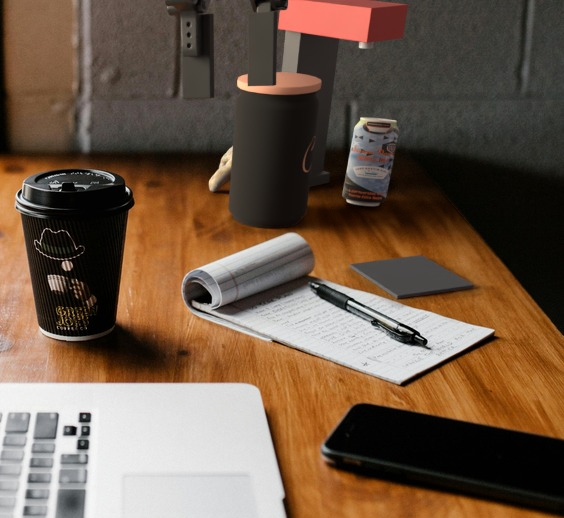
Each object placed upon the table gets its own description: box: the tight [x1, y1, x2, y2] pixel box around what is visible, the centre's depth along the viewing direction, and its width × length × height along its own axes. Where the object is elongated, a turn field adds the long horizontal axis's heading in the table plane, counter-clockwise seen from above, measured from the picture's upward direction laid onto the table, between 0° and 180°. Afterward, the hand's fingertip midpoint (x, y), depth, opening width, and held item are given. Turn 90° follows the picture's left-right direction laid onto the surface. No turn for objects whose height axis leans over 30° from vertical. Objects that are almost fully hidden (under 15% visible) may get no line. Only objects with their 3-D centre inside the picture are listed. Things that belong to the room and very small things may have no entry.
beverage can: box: [341, 116, 400, 207], centre depth 121 cm, size 6×7×12 cm
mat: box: [348, 254, 475, 300], centre depth 100 cm, size 10×10×1 cm
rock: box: [208, 145, 233, 193], centre depth 134 cm, size 20×5×7 cm, turn 166°
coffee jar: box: [228, 71, 321, 229], centre depth 114 cm, size 11×11×18 cm
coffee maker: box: [277, 0, 409, 188], centre depth 122 cm, size 10×18×26 cm, turn 35°
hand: (232, 92), depth 79 cm, fingers open, 13 cm apart
